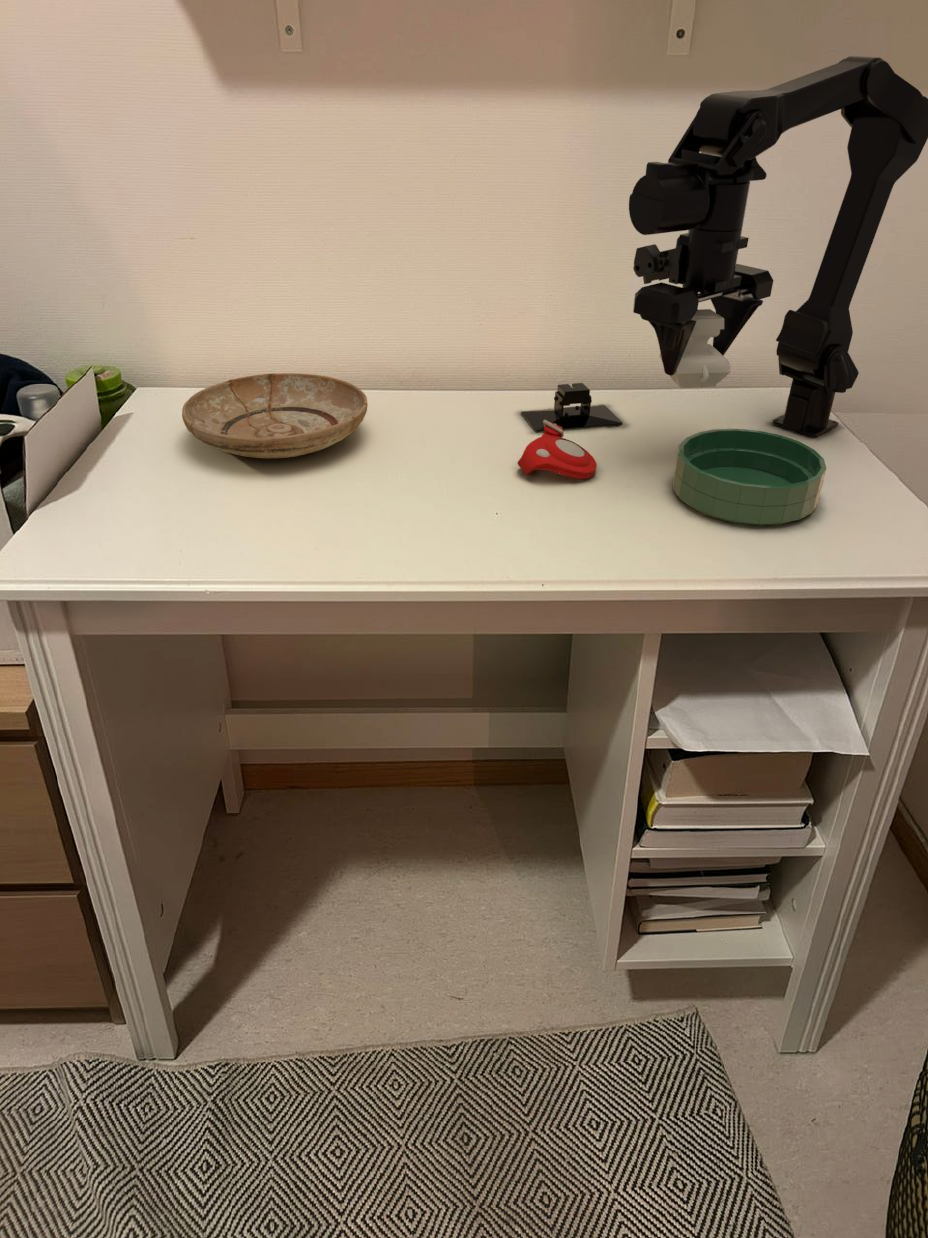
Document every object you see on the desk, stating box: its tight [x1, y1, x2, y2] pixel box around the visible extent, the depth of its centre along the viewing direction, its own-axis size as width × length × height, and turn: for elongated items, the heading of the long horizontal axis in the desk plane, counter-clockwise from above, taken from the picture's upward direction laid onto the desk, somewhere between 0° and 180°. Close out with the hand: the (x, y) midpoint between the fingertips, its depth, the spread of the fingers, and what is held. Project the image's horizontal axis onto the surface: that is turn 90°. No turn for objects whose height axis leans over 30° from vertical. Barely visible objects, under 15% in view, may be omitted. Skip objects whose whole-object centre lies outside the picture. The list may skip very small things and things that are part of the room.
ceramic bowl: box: [181, 372, 369, 459], centre depth 118 cm, size 23×24×5 cm
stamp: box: [659, 308, 732, 389], centre depth 108 cm, size 9×7×8 cm
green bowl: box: [672, 428, 827, 527], centre depth 105 cm, size 16×16×5 cm
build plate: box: [520, 382, 623, 434], centre depth 124 cm, size 12×7×5 cm, turn 104°
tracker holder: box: [517, 420, 598, 480], centre depth 112 cm, size 12×4×10 cm
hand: (693, 366), depth 109 cm, fingers closed on stamp, 9 cm apart
